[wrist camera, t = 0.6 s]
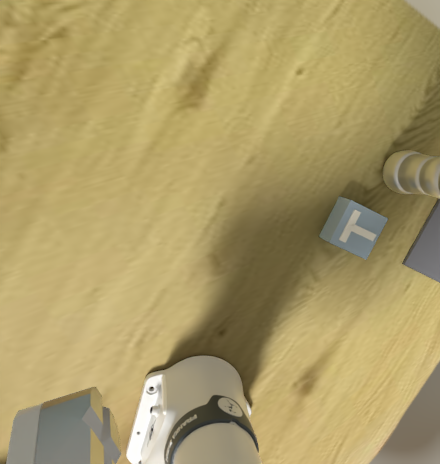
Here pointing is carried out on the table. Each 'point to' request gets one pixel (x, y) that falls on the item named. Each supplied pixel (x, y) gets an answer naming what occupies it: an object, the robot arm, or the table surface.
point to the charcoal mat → (427, 247)
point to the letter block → (353, 227)
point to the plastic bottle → (413, 173)
